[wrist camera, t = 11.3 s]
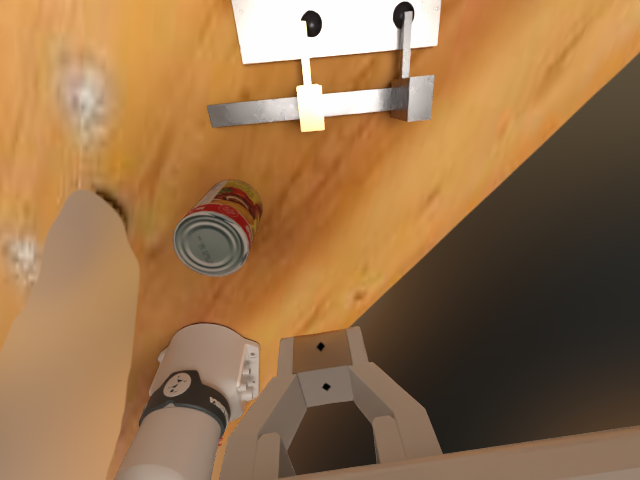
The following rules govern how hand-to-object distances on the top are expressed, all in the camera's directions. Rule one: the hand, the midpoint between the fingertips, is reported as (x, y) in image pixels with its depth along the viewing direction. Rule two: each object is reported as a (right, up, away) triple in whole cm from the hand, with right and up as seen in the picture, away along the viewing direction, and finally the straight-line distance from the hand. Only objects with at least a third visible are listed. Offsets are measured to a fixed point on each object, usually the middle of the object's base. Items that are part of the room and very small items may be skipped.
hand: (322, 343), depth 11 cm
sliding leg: (-2, +23, +23) cm, 32 cm away
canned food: (-12, +9, +30) cm, 34 cm away
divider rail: (-1, +23, +23) cm, 33 cm away
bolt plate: (+2, +31, +19) cm, 36 cm away
